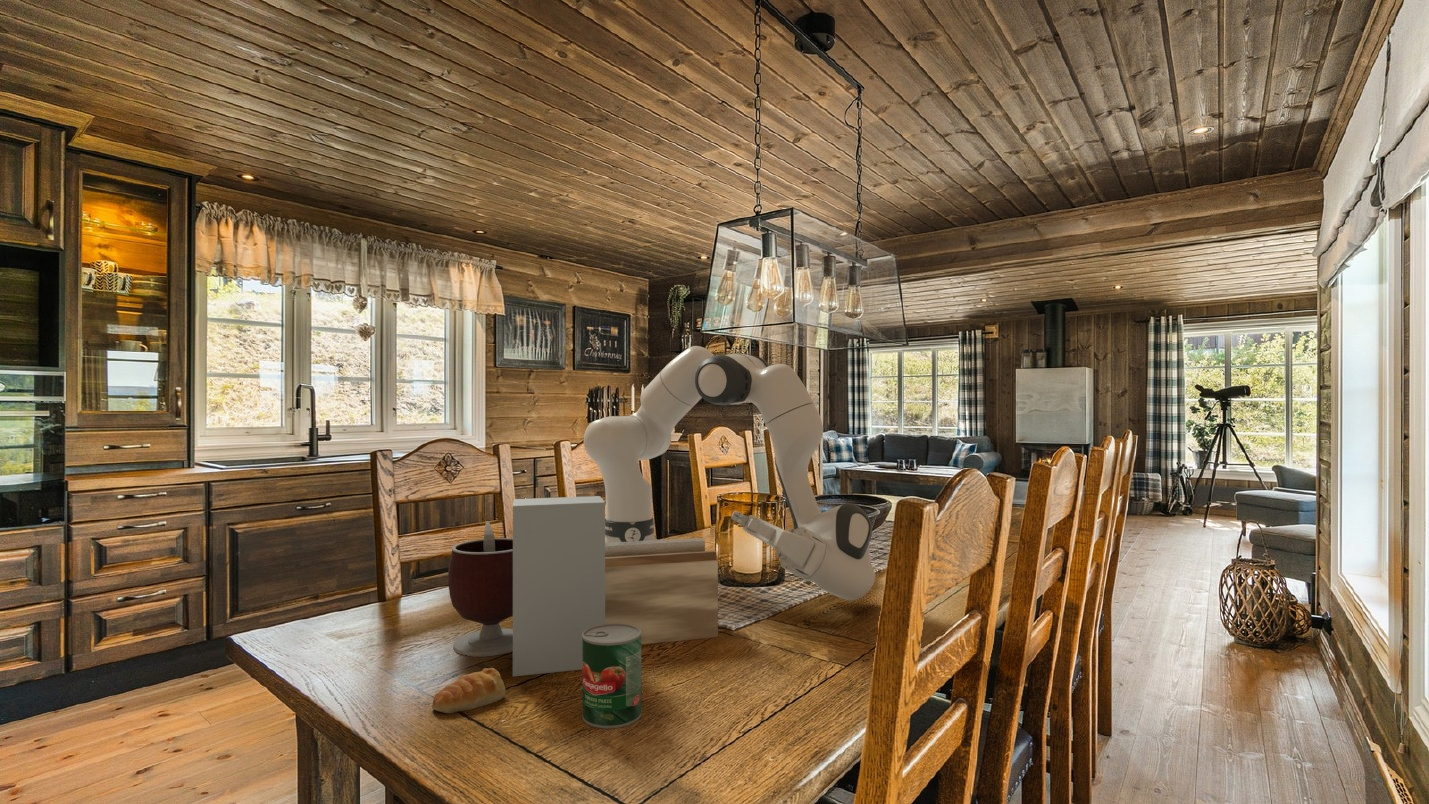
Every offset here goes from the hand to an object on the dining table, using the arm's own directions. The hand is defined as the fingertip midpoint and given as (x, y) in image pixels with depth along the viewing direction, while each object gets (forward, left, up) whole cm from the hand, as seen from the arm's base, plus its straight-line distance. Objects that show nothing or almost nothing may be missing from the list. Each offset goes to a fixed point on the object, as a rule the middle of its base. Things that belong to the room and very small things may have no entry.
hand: (740, 518), depth 128 cm
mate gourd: (-3, -45, -20) cm, 50 cm away
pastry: (+21, -46, -21) cm, 55 cm away
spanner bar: (0, -17, -7) cm, 19 cm away
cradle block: (0, -18, -20) cm, 27 cm away
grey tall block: (+10, -34, -20) cm, 41 cm away
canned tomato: (+31, -28, -20) cm, 46 cm away
